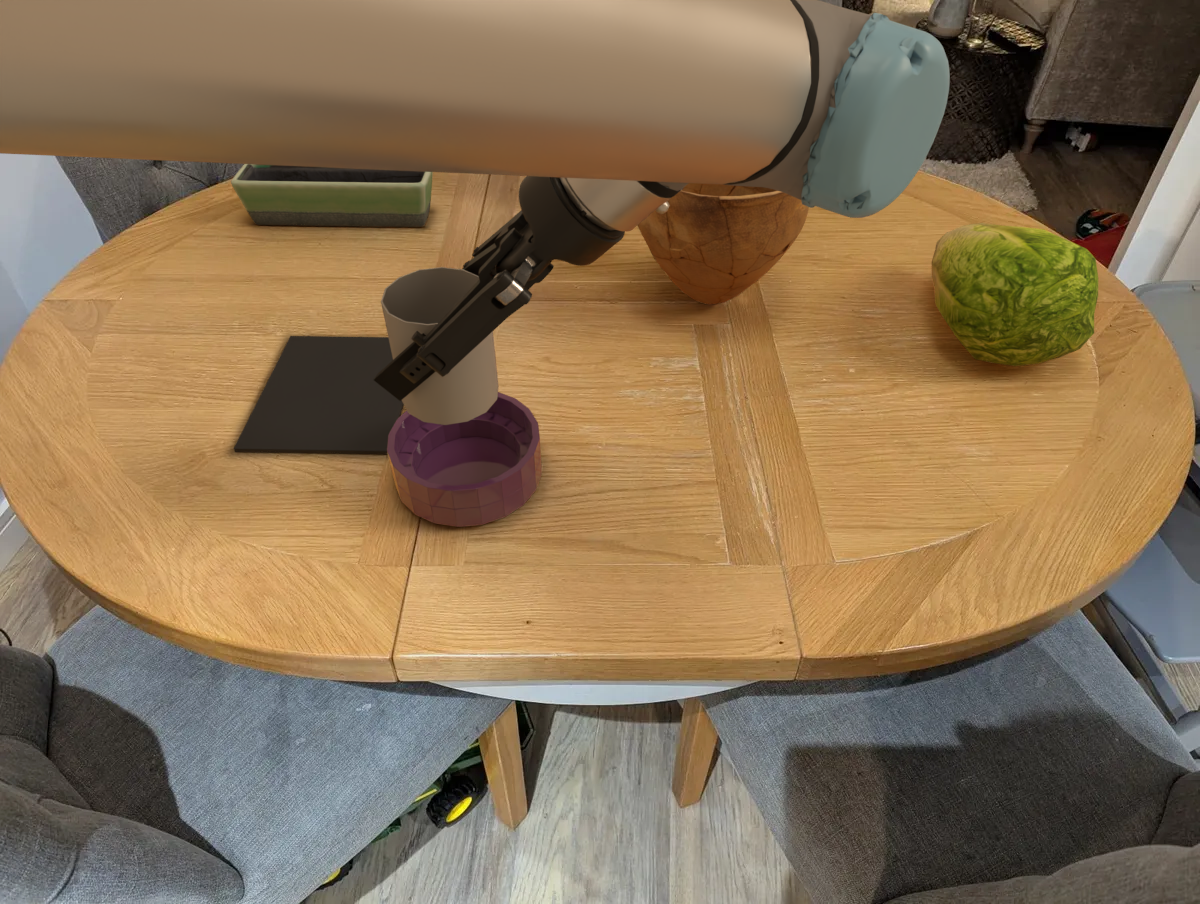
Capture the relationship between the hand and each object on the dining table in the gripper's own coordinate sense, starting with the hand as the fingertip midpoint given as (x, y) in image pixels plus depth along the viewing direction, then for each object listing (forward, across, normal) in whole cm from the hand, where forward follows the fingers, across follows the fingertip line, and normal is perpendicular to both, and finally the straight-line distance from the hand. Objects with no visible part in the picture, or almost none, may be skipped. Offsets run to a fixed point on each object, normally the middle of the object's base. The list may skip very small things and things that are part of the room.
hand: (407, 355), depth 68 cm
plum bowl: (+10, +2, -14) cm, 17 cm away
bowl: (-5, +39, -29) cm, 49 cm away
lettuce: (-30, +39, -53) cm, 72 cm away
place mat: (+23, +13, -1) cm, 26 cm away
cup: (0, 0, -5) cm, 5 cm away
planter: (+34, +51, +10) cm, 62 cm away
